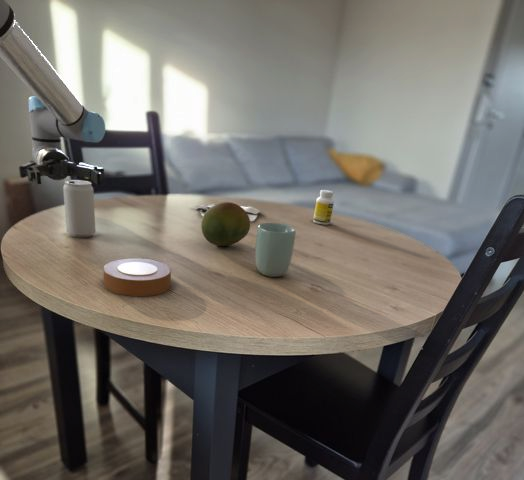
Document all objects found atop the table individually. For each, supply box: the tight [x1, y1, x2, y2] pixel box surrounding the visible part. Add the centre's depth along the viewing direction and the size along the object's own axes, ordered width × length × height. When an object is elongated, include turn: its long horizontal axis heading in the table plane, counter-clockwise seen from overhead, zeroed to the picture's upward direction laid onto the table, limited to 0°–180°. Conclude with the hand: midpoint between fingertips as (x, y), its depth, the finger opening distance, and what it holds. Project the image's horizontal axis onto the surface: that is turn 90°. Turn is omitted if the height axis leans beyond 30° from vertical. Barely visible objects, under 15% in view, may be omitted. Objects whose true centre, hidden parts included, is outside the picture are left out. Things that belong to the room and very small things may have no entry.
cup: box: [254, 222, 296, 278], centre depth 101 cm, size 8×8×10 cm
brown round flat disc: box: [102, 258, 172, 297], centre depth 89 cm, size 12×12×3 cm
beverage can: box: [62, 179, 96, 238], centre depth 111 cm, size 6×6×12 cm
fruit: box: [200, 201, 251, 247], centre depth 116 cm, size 12×13×10 cm
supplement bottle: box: [312, 189, 335, 226], centre depth 150 cm, size 5×5×10 cm
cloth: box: [193, 203, 261, 222], centre depth 149 cm, size 20×22×2 cm
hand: (69, 178), depth 115 cm, fingers open, 13 cm apart
